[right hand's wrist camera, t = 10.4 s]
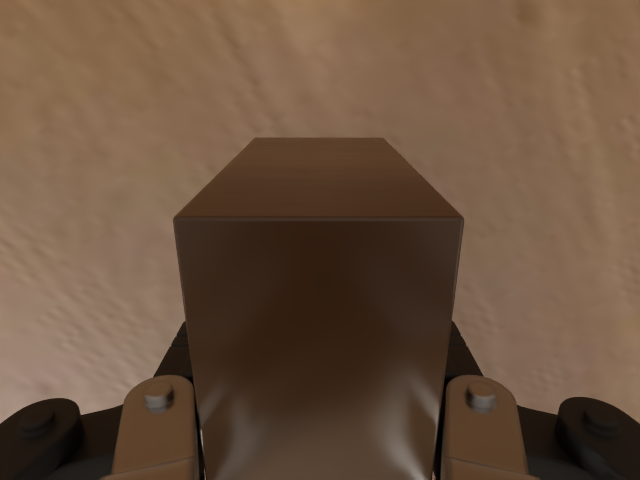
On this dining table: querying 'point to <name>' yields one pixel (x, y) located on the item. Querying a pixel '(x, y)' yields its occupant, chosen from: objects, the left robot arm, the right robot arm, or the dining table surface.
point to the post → (318, 311)
